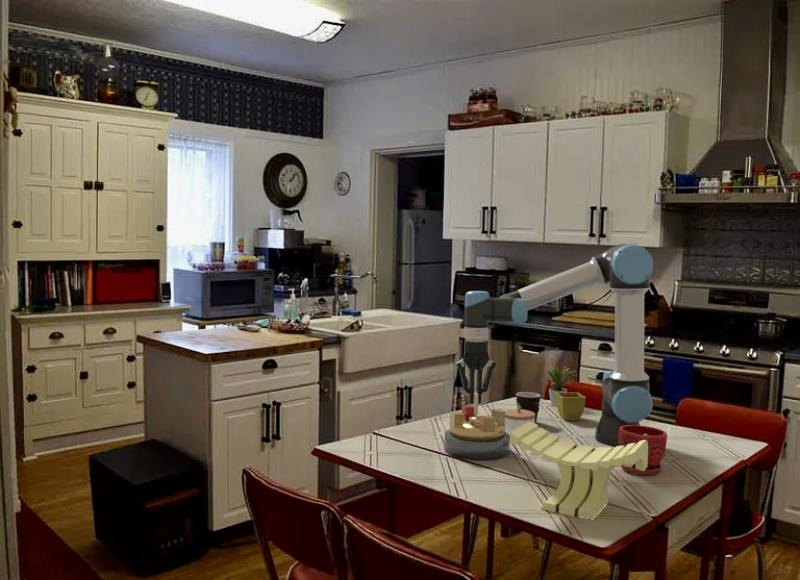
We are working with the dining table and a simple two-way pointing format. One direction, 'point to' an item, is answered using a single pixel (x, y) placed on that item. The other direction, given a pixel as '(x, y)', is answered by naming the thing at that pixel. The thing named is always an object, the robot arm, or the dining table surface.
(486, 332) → the robot arm
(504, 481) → the dining table surface
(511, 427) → the lidded jar
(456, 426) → the ring nut
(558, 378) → the house plant
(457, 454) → the base
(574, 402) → the flower pot
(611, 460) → the slatted curved stool
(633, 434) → the plant pot
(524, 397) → the coffee mug
